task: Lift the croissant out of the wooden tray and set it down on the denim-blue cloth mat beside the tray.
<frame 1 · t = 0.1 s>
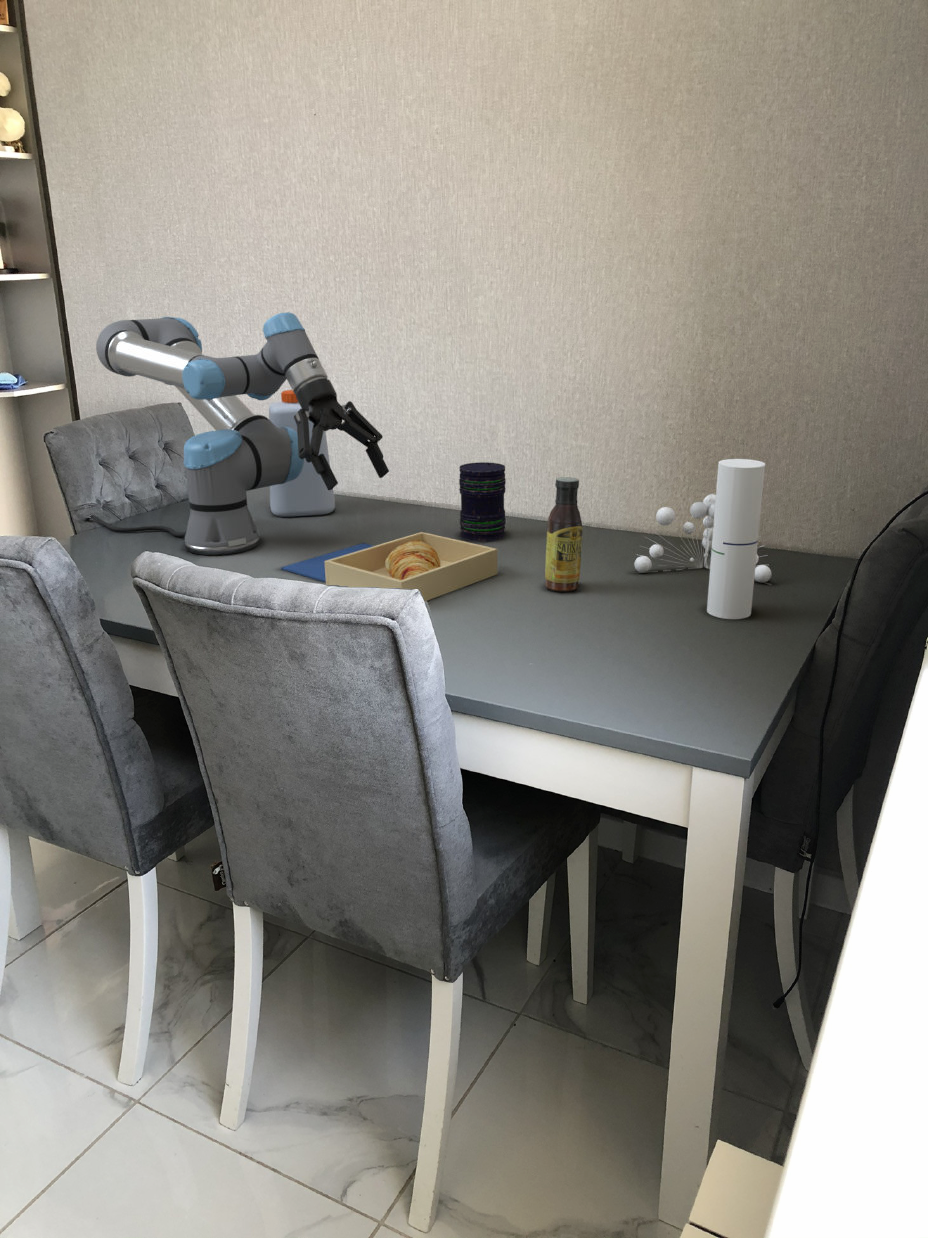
hand: (359, 480, 190), 15 cm above the table, tool tilted 35°, fingers open, 13 cm apart
sauce bottle: (562, 588, 175), on the table
decorative flower: (687, 569, 184), on the table
croissant: (413, 579, 180), resting on wooden tray
plastic bottle: (302, 510, 232), on the table
storage jar: (482, 536, 208), on the table
cylindrical container: (728, 612, 162), on the table
wooden tray: (413, 580, 180), on the table
cloth mat: (347, 562, 191), on the table
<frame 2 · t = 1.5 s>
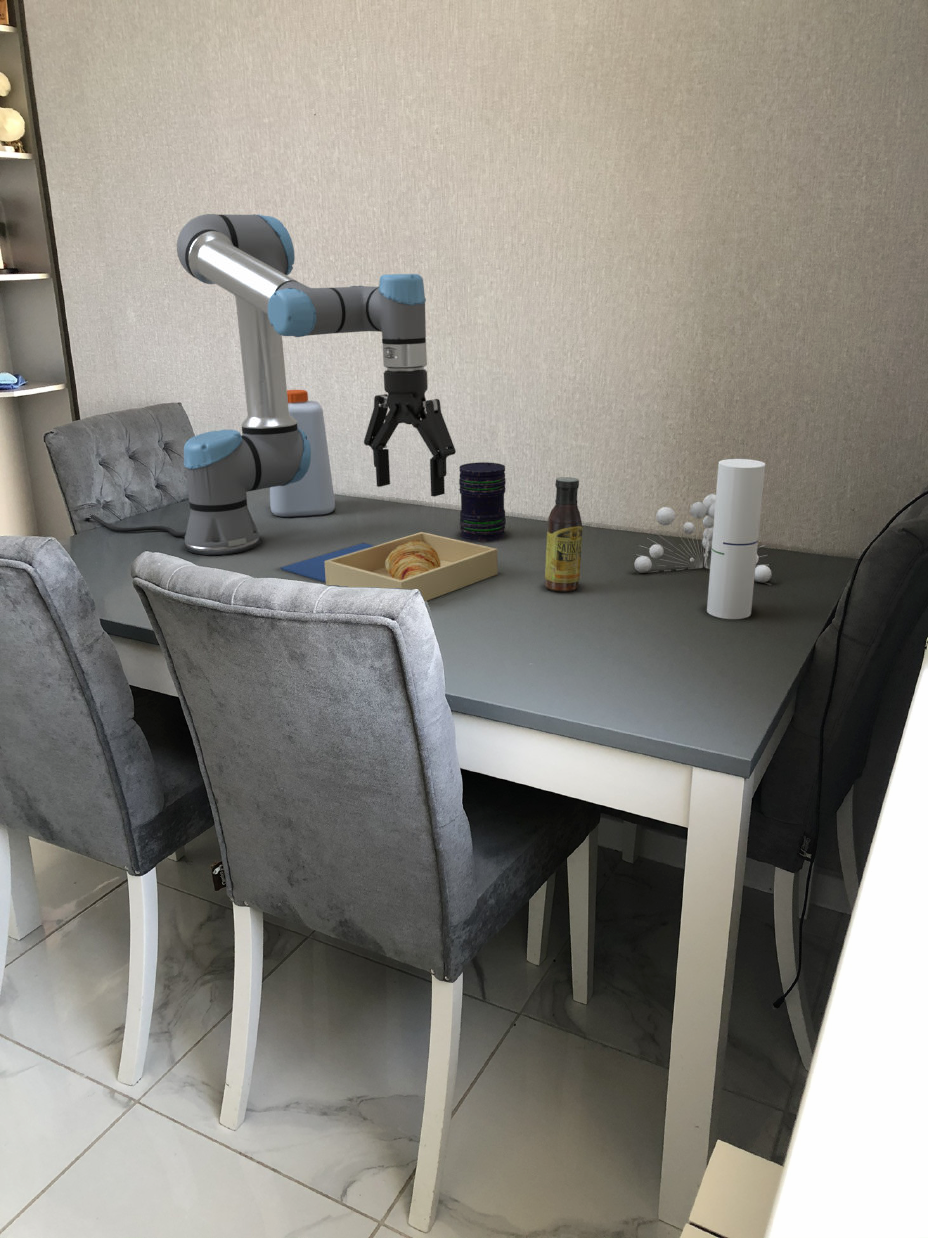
hand: (410, 490, 174), 17 cm above the table, tool pointing down, fingers open, 13 cm apart
nothing on the table moved.
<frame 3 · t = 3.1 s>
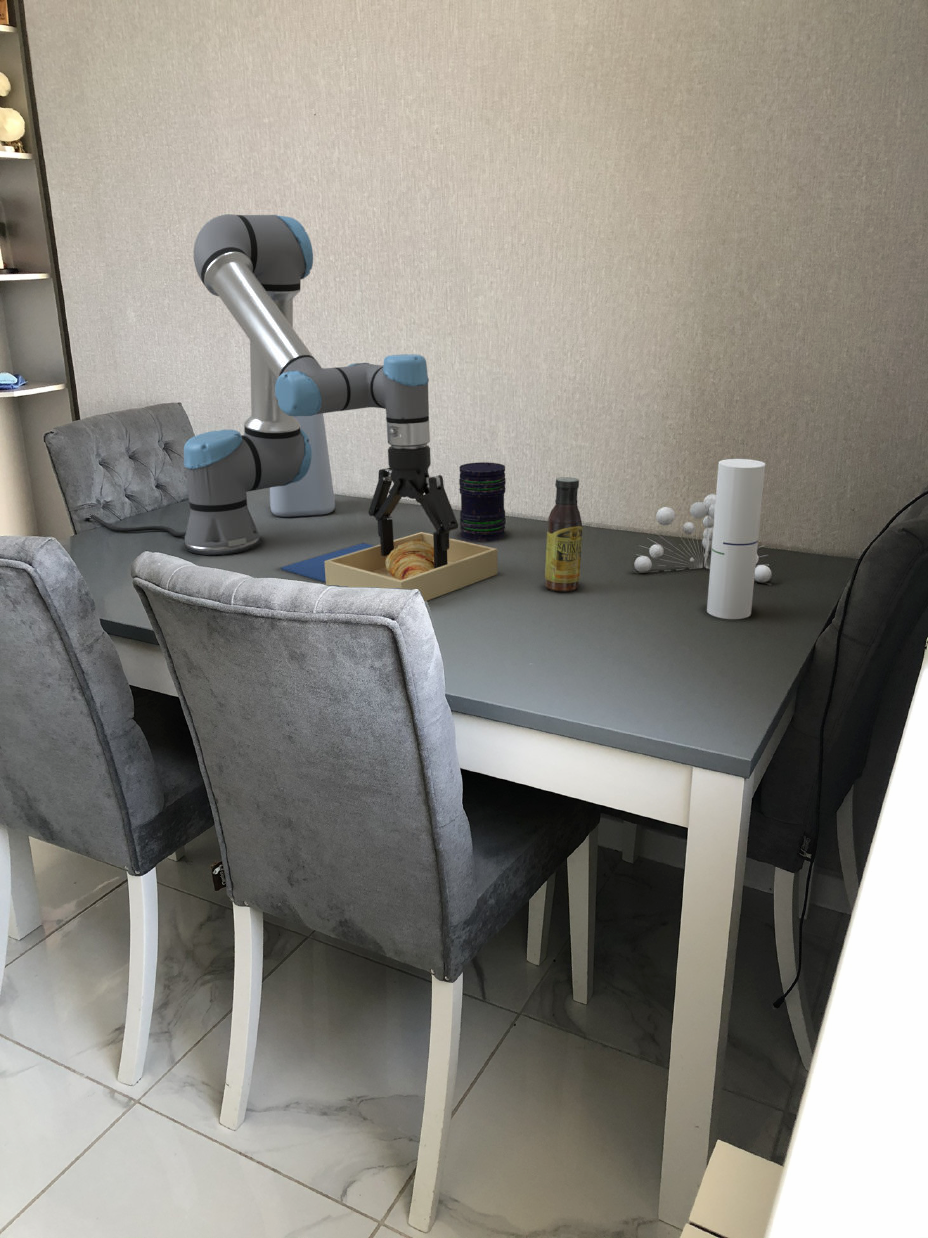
hand: (413, 560, 178), 4 cm above the table, tool pointing down, fingers closed on croissant, 13 cm apart
croissant: (413, 578, 179), resting on wooden tray, touching gripper
everything else where it was.
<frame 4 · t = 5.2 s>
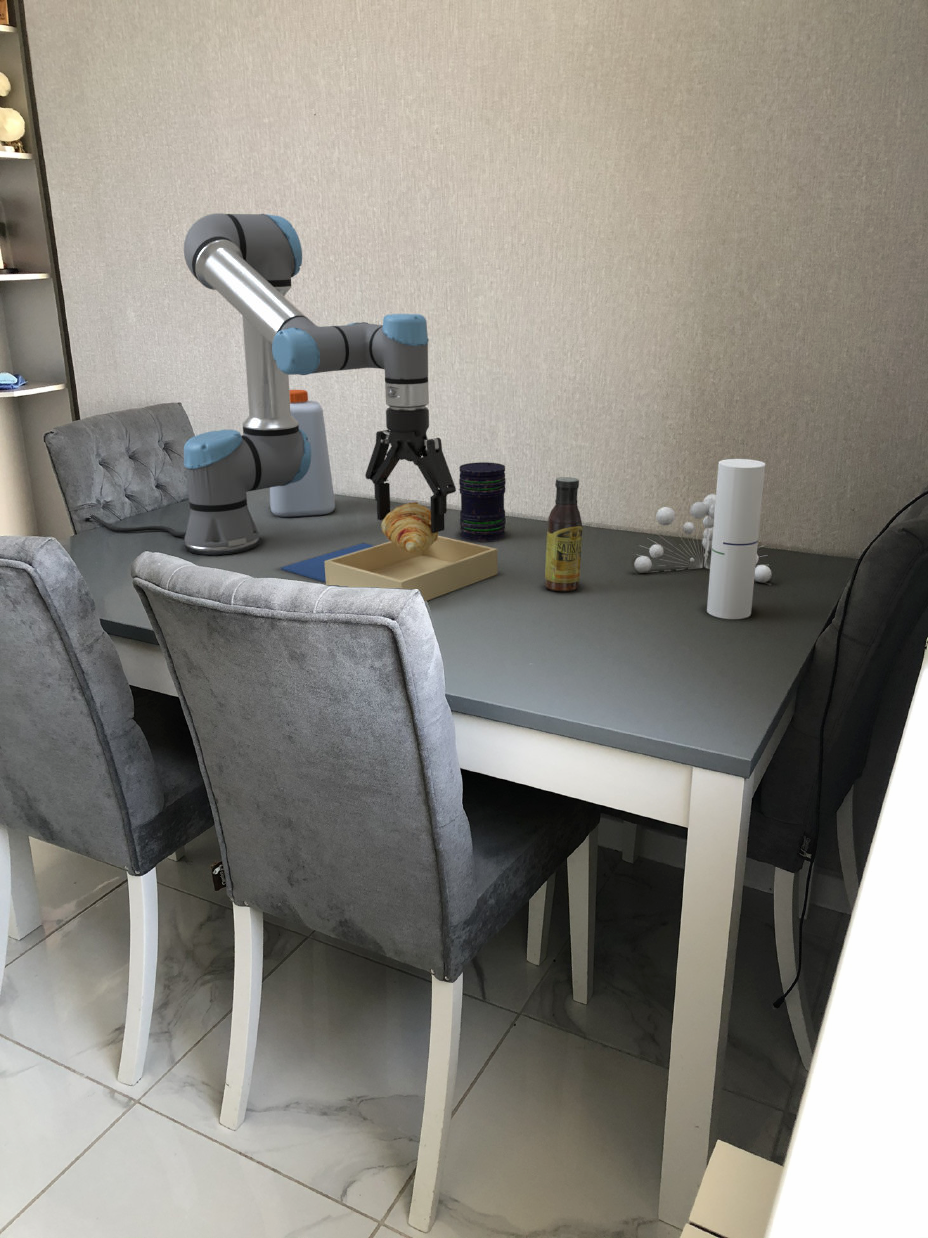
hand: (410, 525, 176), 11 cm above the table, tool pointing down, fingers closed on croissant, 13 cm apart
croissant: (409, 541, 177), point 7 cm above the table, touching gripper
everything else where it was.
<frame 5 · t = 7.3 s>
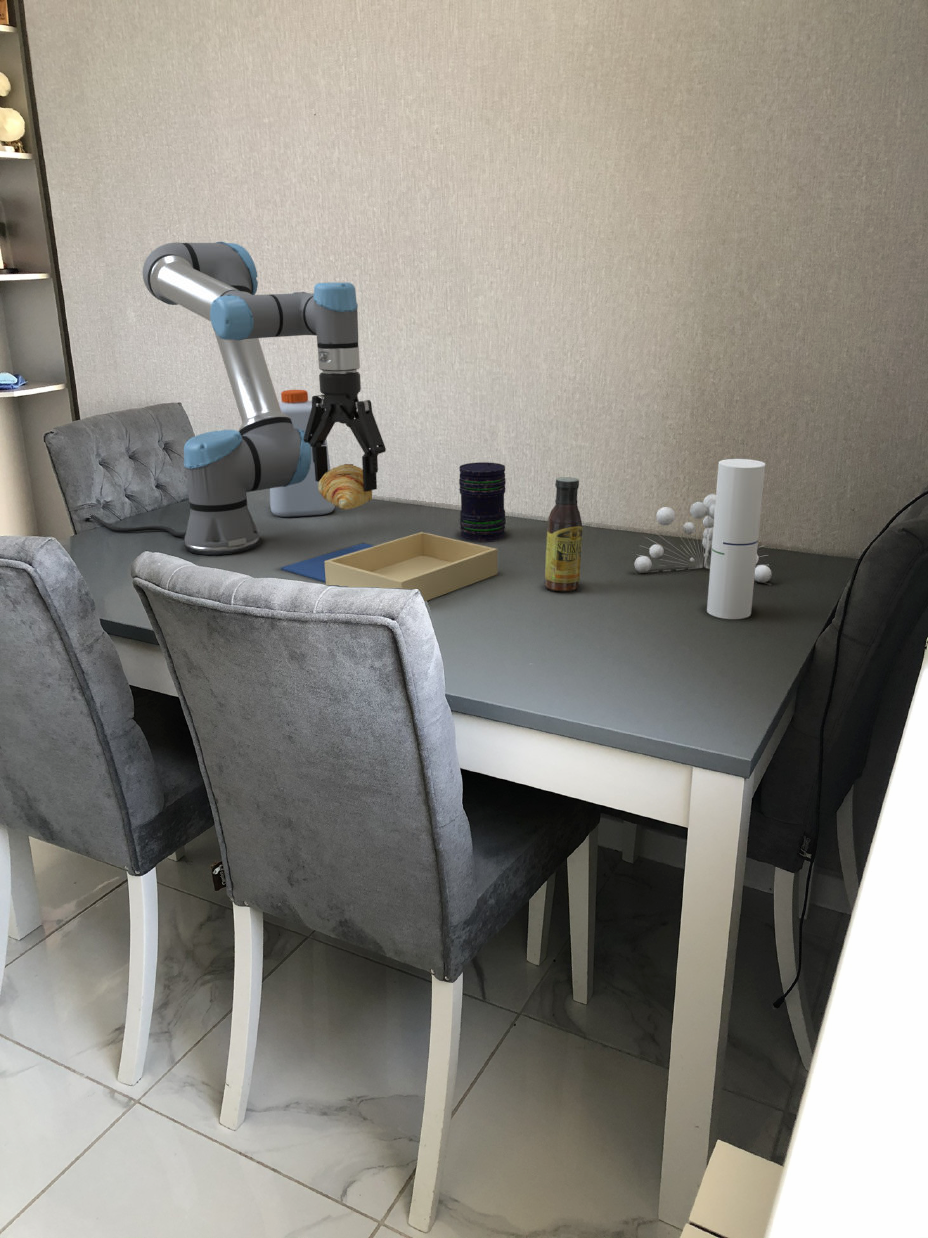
hand: (345, 485, 185), 16 cm above the table, tool pointing down, fingers closed on croissant, 13 cm apart
croissant: (345, 501, 186), point 12 cm above the table, touching gripper
everything else where it was.
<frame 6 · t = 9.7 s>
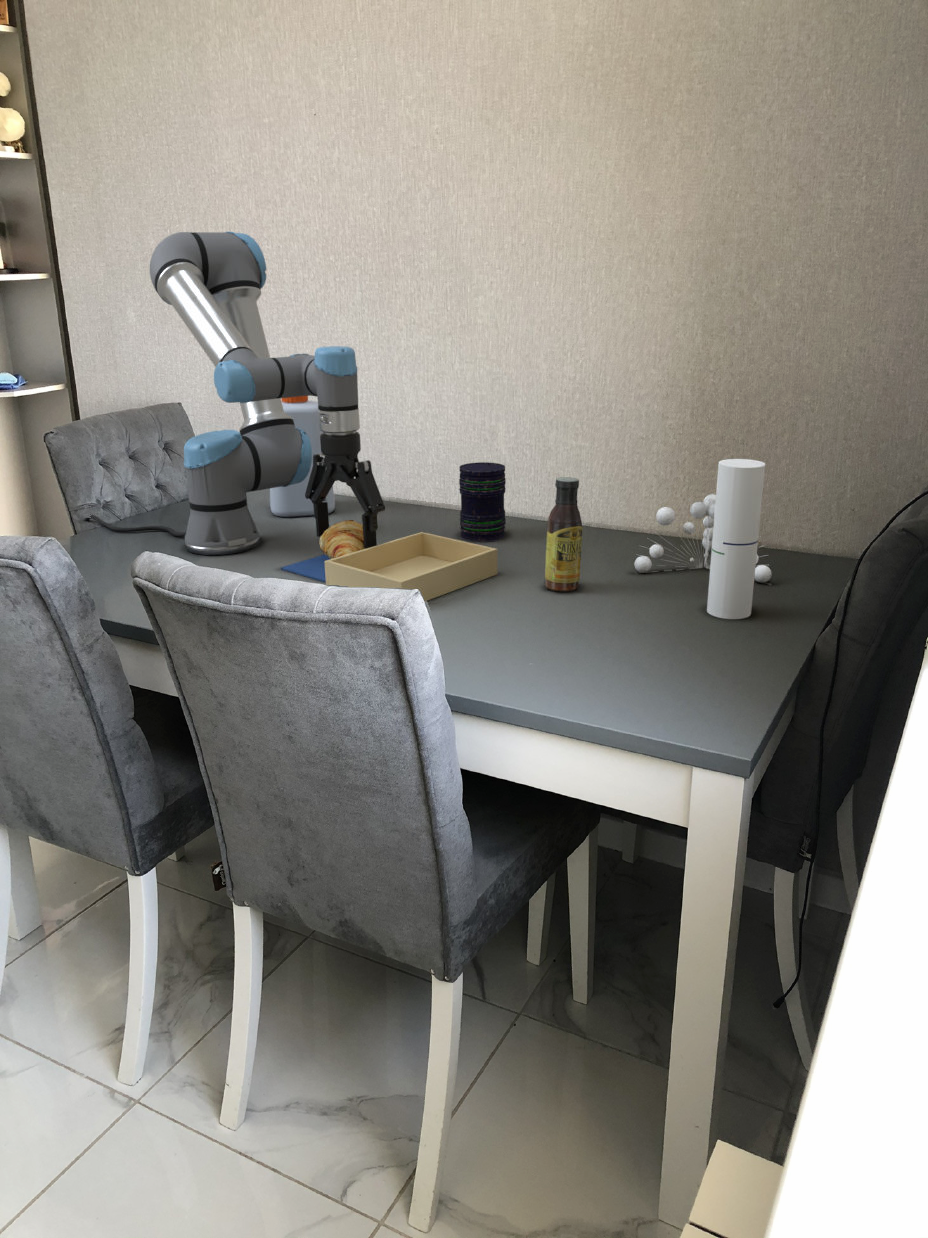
hand: (346, 541, 189), 4 cm above the table, tool pointing down, fingers closed on croissant, 13 cm apart
croissant: (346, 556, 190), point 1 cm above the table, touching gripper
everything else where it was.
when the fingers open (7 cm above the table, at t = 11.6 s): croissant drops 3 cm, resting on cloth mat.
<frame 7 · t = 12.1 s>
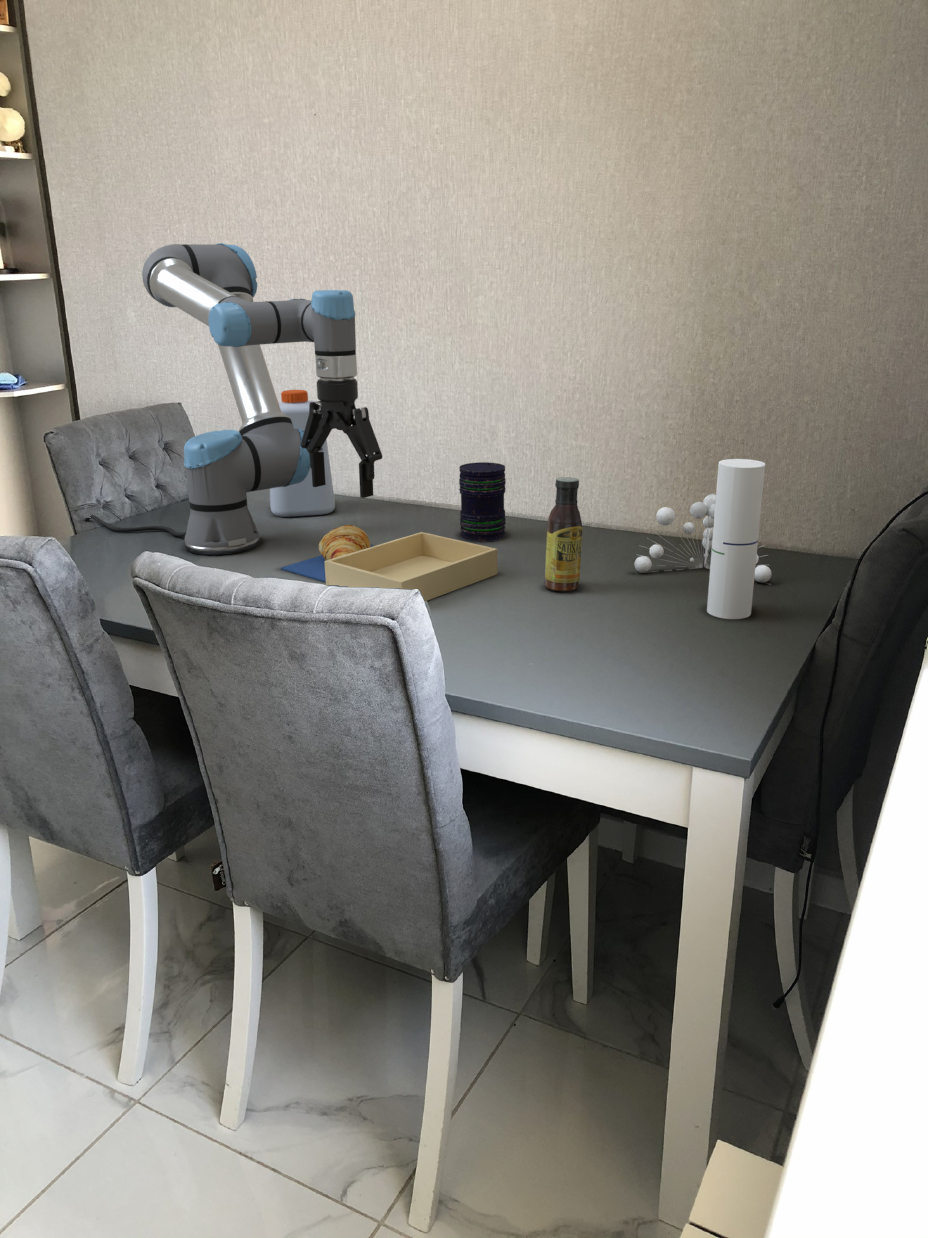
hand: (342, 491, 186), 14 cm above the table, tool pointing down, fingers open, 13 cm apart
croissant: (345, 561, 191), resting on cloth mat
everything else where it was.
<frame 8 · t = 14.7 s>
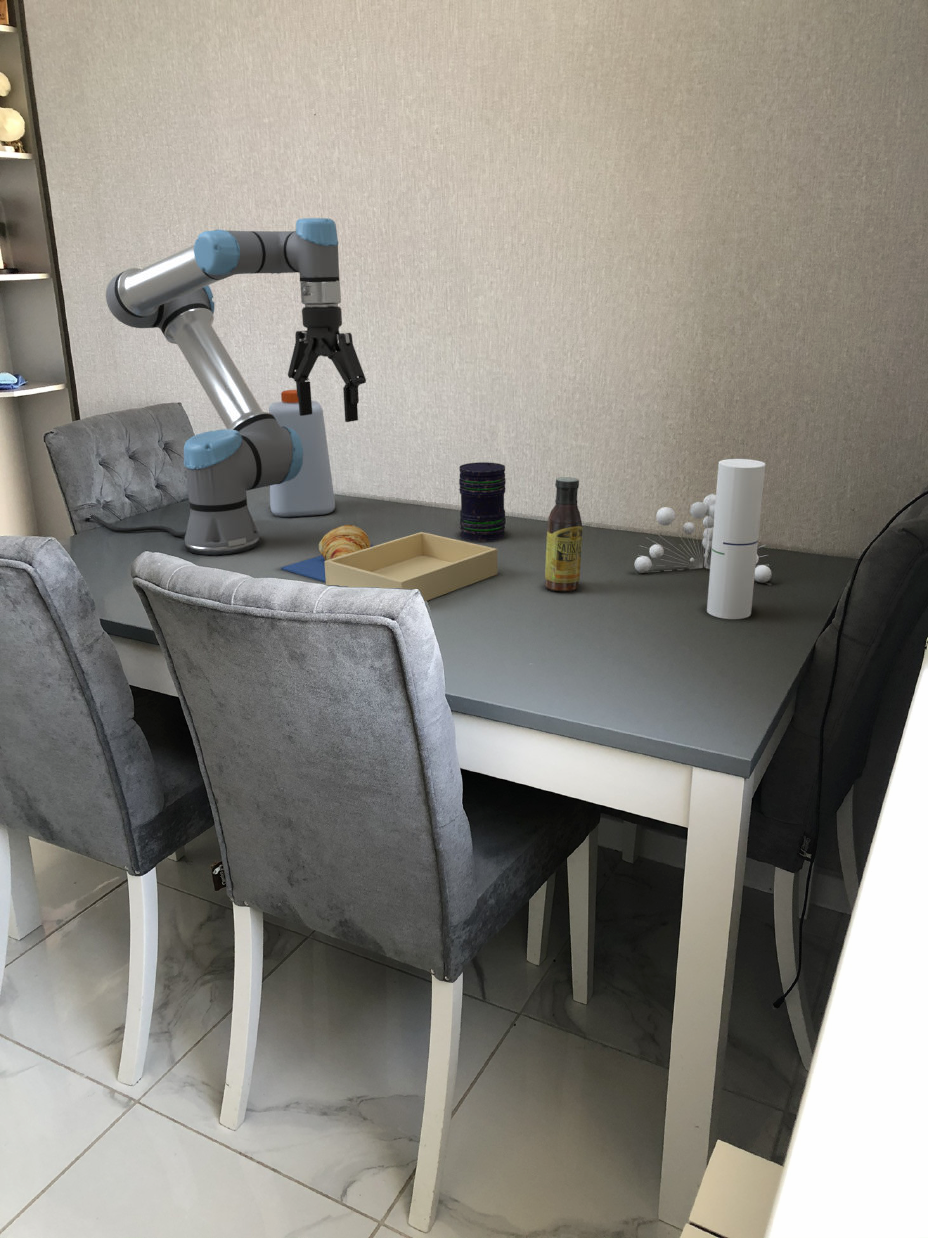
hand: (328, 418, 192), 27 cm above the table, tool pointing down, fingers open, 13 cm apart
nothing on the table moved.
at the end: croissant inside the target area on the cloth mat (0.7 cm from its centre), point 0.2 cm above the cloth mat's base; croissant touching cloth mat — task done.
